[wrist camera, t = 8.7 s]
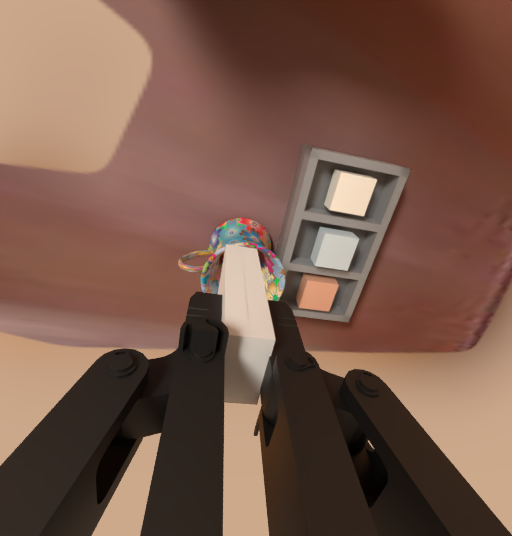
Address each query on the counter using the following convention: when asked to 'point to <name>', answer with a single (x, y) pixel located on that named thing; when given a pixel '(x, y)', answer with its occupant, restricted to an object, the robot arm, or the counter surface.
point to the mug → (244, 236)
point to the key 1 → (316, 292)
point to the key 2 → (349, 192)
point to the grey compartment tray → (335, 225)
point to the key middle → (334, 248)
